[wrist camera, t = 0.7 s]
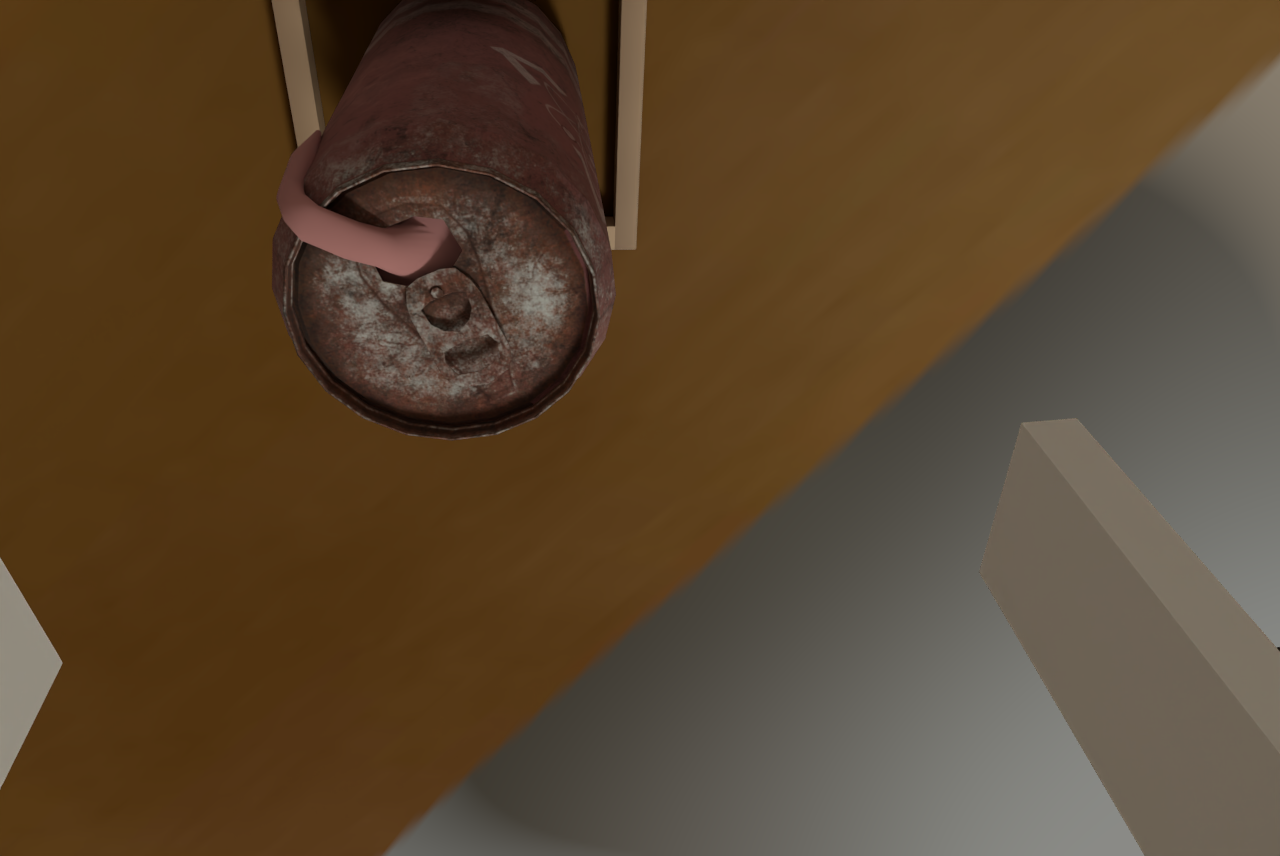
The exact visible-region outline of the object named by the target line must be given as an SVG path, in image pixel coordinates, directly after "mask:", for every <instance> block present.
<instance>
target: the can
mask: <svg viewBox="0 0 1280 856" xmlns="http://www.w3.org/2000/svg"><path fill="white" fill-rule="evenodd" d="M277 202H278V205H279V208H280V211H281V213H282V218H281V220H280V223H279V225H278V227H277V230H276V232H275V235H274V237H273V270H272V289H273V292H274V295H275V297H276V300H277V303H278V306H279V309H280V311H281V314H282V317H283V320H284V323H285V325H286V328H287V331H288V334H289V336H290V337H291V338H292V341H293V343H294V346H295V349H296V352H297V355H298V356H299V358H300V359H301V360H302V361H303V363H304V364H305V365H306V366H307V368H308V369H309V370H310V372H311V373H312V374H313V375H314V377H315V378H316V379H317V381H318V382H319V383H320V384H321V386H322V387H323V388H324V390H325V391H326V392H328V393H329V394H330V395H332V396H333V397H334V398H336V399H337V400H339V401H340V402H341V403H343V404H344V405H346V406H347V407H348V408H350V409H351V410H352V411H354V412H355V413H357V414H358V415H359V416H361V417H362V418H364V419H366V420H369V421H372V422H374V423H377V424H379V425H382V426H385V427H387V428H390V429H392V430H395V431H398V432H400V433H403V434H405V435H411V436H419V437H428V438H436V439H444V440H459V439H467V438H474V437H482V436H490V435H497V434H499V433H502V432H504V431H506V430H509V429H511V428H514V427H516V426H519V425H521V424H523V423H526V422H528V421H531V420H533V419H535V418H537V417H538V416H540V415H541V414H542V413H543V412H544V411H546V410H547V409H548V408H549V407H551V406H552V405H553V404H554V403H556V402H557V401H558V400H559V399H561V398H562V397H563V396H564V395H566V394H567V393H568V392H569V391H570V389H571V388H572V386H573V385H574V383H575V382H576V380H577V379H578V378H579V377H580V376H581V375H582V373H583V372H584V370H585V369H586V367H587V366H588V364H589V362H590V361H591V359H592V358H593V356H594V355H595V353H596V352H597V350H598V349H599V347H600V346H601V344H602V342H603V341H604V339H605V337H606V333H607V328H608V324H609V320H610V316H611V312H612V308H613V304H614V300H615V296H616V292H615V283H614V273H613V264H612V255H611V246H610V241H609V236H608V231H607V226H606V221H605V216H604V210H603V205H602V200H601V195H600V190H599V185H598V180H597V175H596V169H595V164H594V159H593V154H592V149H591V144H590V139H589V134H588V128H587V123H586V118H585V113H584V108H583V103H582V98H581V93H580V87H579V82H578V77H577V72H576V67H575V64H574V61H573V59H572V57H571V55H570V52H569V50H568V48H567V46H566V43H565V41H564V39H563V37H562V34H561V33H560V31H559V30H558V29H557V28H556V27H555V26H554V25H553V23H552V22H551V21H550V20H549V19H548V18H547V17H546V15H545V14H544V13H543V12H542V11H541V10H540V9H539V7H538V6H537V5H535V4H533V3H532V2H530V1H529V0H402V1H401V2H400V3H399V4H398V5H397V6H396V7H395V8H394V9H393V10H392V11H391V13H390V14H389V15H388V16H387V17H386V18H385V19H384V20H383V21H382V22H381V24H380V25H379V27H378V29H377V31H376V33H375V35H374V37H373V39H372V41H371V43H370V44H369V46H368V48H367V50H366V52H365V54H364V56H363V58H362V60H361V62H360V64H359V65H358V67H357V69H356V71H355V73H354V75H353V77H352V79H351V81H350V83H349V84H348V86H347V88H346V90H345V92H344V94H343V96H342V98H341V100H340V102H339V103H338V105H337V107H336V109H335V111H334V113H333V115H332V117H331V119H330V121H329V123H328V124H327V126H326V128H325V130H324V132H323V134H322V136H321V131H320V130H316V131H315V132H314V133H313V134H312V135H311V136H310V137H309V138H308V139H306V140H305V141H304V142H303V143H302V144H301V145H300V146H299V147H298V148H297V149H296V150H295V151H294V152H293V153H292V155H291V156H290V159H289V162H288V165H287V168H286V170H285V173H284V176H283V179H282V182H281V184H280V187H279V190H278V193H277Z"/></svg>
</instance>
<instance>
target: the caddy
mask: <svg viewBox="0 0 1280 856" xmlns="http://www.w3.org/2000/svg"><path fill="white" fill-rule="evenodd" d="M272 5H273V11H274V17H275V22H276V28H277V34H278V39H279V45H280V50H281V56H282V62H283V67H284V73H285V79H286V84H287V90H288V95H289V101H290V107H291V112H292V118H293V124H294V129H295V135H296V140H297V146H298V147H299V146H300V145H301V144H302V143H303V142H304V141H305V140H306V139H308V138H309V137H310V136H311V135H312V134H313V133H314V132H315V131H316V130H320V131H321V136H322V134H323V132H324V130H325V123H324V117H323V110H322V104H321V98H320V91H319V85H318V79H317V72H316V66H315V60H314V53H313V47H312V41H311V34H310V28H309V22H308V15H307V9H306V3H305V0H272ZM646 10H647V0H619V22H618V59H617V95H616V132H615V168H614V205H613V217H605V221H606V226H607V231H608V236H609V241H610V246H611V250H632V249H636V238H637V215H638V192H639V169H640V147H641V124H642V101H643V78H644V55H645V32H646Z"/></svg>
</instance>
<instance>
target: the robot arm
mask: <svg viewBox="0 0 1280 856" xmlns="http://www.w3.org/2000/svg"><path fill="white" fill-rule="evenodd" d="M979 573H980V574H981V576H982V578H983V580H984V581H985V583H986V585H987V586H988V588H989V590H990V591H991V593H992V595H993V597H994V598H995V600H996V602H997V603H998V605H999V607H1000V608H1001V610H1002V612H1003V614H1004V615H1005V617H1006V619H1007V621H1008V622H1009V624H1010V626H1011V627H1012V629H1013V631H1014V633H1015V634H1016V636H1017V638H1018V639H1019V641H1020V643H1021V644H1022V646H1023V648H1024V650H1025V651H1026V653H1027V654H1028V656H1029V658H1030V660H1031V662H1032V663H1033V665H1034V667H1035V668H1036V670H1037V672H1038V674H1039V675H1040V677H1041V679H1042V681H1043V682H1044V684H1045V686H1046V687H1047V689H1048V691H1049V693H1050V694H1051V696H1052V698H1053V699H1054V701H1055V703H1056V704H1057V706H1058V708H1059V710H1060V711H1061V713H1062V715H1063V716H1064V718H1065V720H1066V722H1067V723H1068V725H1069V727H1070V729H1071V730H1072V732H1073V734H1074V735H1075V737H1076V739H1077V741H1078V742H1079V744H1080V746H1081V747H1082V749H1083V751H1084V753H1085V754H1086V756H1087V758H1088V759H1089V761H1090V763H1091V765H1092V766H1093V768H1094V770H1095V771H1096V773H1097V775H1098V776H1099V778H1100V780H1101V782H1102V783H1103V785H1104V787H1105V788H1106V790H1107V792H1108V794H1109V795H1110V797H1111V799H1112V800H1113V802H1114V804H1115V806H1116V807H1117V809H1118V811H1119V812H1120V814H1121V816H1122V818H1123V819H1124V821H1125V823H1126V824H1127V826H1128V828H1129V830H1130V831H1131V833H1132V834H1133V836H1134V838H1135V840H1136V842H1137V843H1138V845H1139V847H1140V848H1141V850H1142V852H1143V853H1144V855H1145V856H1280V647H1277V648H1276V647H1275V645H1274V644H1273V643H1272V642H1271V641H1270V640H1269V639H1268V637H1267V636H1266V635H1265V634H1264V633H1263V632H1262V630H1261V629H1260V628H1259V627H1258V626H1257V625H1256V624H1255V622H1254V621H1253V620H1252V619H1251V618H1250V617H1249V616H1248V614H1247V613H1246V612H1245V611H1244V610H1243V609H1242V607H1241V606H1240V605H1239V604H1238V603H1237V602H1236V601H1235V599H1234V598H1233V597H1232V596H1231V595H1230V594H1229V592H1227V590H1226V589H1225V588H1224V587H1223V586H1222V584H1221V583H1220V582H1219V581H1218V580H1217V579H1216V578H1215V576H1214V575H1213V574H1212V573H1211V572H1210V571H1209V570H1208V568H1207V567H1206V566H1205V565H1204V564H1203V563H1202V562H1201V560H1200V559H1199V558H1198V557H1197V556H1196V555H1195V553H1194V552H1193V551H1192V550H1191V549H1190V548H1189V547H1188V545H1187V544H1186V543H1185V542H1184V541H1183V540H1182V539H1181V537H1180V536H1179V535H1178V534H1177V533H1176V532H1175V530H1174V529H1173V528H1172V527H1171V526H1170V525H1169V524H1168V523H1167V521H1166V520H1165V519H1164V518H1163V517H1162V516H1161V514H1160V513H1159V512H1158V511H1157V510H1156V509H1155V507H1153V505H1152V504H1151V503H1150V502H1149V501H1148V500H1147V498H1146V497H1145V496H1144V495H1143V494H1142V493H1141V491H1140V490H1139V489H1138V488H1137V487H1136V486H1135V485H1134V483H1133V482H1132V481H1131V480H1130V479H1129V478H1128V477H1127V475H1126V474H1125V473H1124V472H1123V471H1122V470H1121V468H1120V467H1119V466H1118V465H1117V464H1116V463H1115V462H1114V461H1113V459H1112V458H1111V457H1110V456H1109V455H1108V454H1107V452H1106V451H1105V450H1104V449H1103V448H1102V447H1101V446H1100V444H1099V443H1098V442H1097V441H1096V440H1095V439H1094V437H1093V436H1092V435H1091V434H1090V433H1089V432H1088V431H1087V430H1086V428H1085V427H1084V426H1083V425H1082V424H1081V422H1080V421H1079V420H1078V419H1077V418H1073V419H1061V420H1049V421H1039V422H1026V423H1021V427H1020V430H1019V433H1018V437H1017V441H1016V444H1015V447H1014V451H1013V455H1012V458H1011V462H1010V465H1009V469H1008V472H1007V476H1006V479H1005V483H1004V486H1003V490H1002V493H1001V497H1000V500H999V504H998V507H997V511H996V515H995V518H994V522H993V525H992V529H991V532H990V536H989V539H988V543H987V546H986V550H985V554H984V557H983V560H982V564H981V567H980V571H979ZM61 665H62V661H61V659H60V658H59V656H58V654H57V652H56V651H55V649H54V647H53V646H52V644H51V642H50V641H49V639H48V637H47V636H46V634H45V632H44V631H43V629H42V627H41V626H40V624H39V622H38V621H37V619H36V617H35V615H34V614H33V612H32V610H31V609H30V607H29V605H28V604H27V602H26V600H25V599H24V597H23V595H22V594H21V592H20V590H19V589H18V587H17V585H16V584H15V582H14V580H13V578H12V577H11V575H10V573H9V572H8V570H7V568H6V567H5V565H4V563H3V562H2V560H1V558H0V788H1V786H2V784H3V782H4V780H5V778H6V776H7V774H8V772H9V770H10V768H11V766H12V764H13V762H14V760H15V758H16V756H17V754H18V752H19V750H20V748H21V746H22V744H23V742H24V740H25V738H26V736H27V734H28V732H29V730H30V728H31V726H32V724H33V722H34V720H35V718H36V716H37V714H38V712H39V710H40V708H41V706H42V704H43V701H44V699H45V697H46V695H47V693H48V691H49V689H50V687H51V685H52V683H53V681H54V679H55V677H56V675H57V673H58V671H59V669H60V667H61Z"/></svg>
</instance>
